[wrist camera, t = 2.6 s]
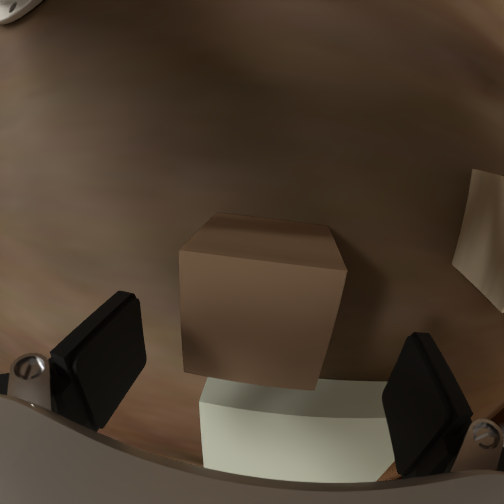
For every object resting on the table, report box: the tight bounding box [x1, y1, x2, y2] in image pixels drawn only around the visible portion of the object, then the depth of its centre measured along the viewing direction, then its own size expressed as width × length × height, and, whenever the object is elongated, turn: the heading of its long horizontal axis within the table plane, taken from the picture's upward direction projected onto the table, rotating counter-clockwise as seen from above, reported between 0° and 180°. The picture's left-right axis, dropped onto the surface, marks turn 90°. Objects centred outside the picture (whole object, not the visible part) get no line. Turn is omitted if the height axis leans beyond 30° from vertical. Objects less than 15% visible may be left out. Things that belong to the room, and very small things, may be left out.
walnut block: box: [179, 213, 347, 391], centre depth 12 cm, size 5×5×5 cm
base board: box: [199, 377, 395, 483], centre depth 17 cm, size 13×13×3 cm
